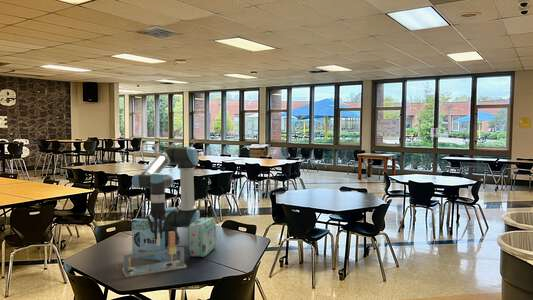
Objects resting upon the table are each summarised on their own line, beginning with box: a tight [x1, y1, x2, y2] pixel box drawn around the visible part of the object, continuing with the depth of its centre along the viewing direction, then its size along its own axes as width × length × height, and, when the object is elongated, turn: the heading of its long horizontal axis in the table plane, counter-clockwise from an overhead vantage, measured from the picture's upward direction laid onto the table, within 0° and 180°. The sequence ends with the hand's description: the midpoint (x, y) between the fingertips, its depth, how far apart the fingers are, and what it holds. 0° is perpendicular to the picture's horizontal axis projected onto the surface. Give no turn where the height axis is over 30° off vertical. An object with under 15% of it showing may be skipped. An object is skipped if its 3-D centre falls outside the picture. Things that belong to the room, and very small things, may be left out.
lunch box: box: [187, 217, 217, 258], centre depth 248 cm, size 27×10×21 cm, turn 168°
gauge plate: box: [121, 259, 188, 278], centre depth 218 cm, size 11×32×2 cm, turn 118°
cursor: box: [166, 231, 177, 264], centre depth 222 cm, size 4×4×18 cm
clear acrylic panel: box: [122, 246, 185, 272], centre depth 218 cm, size 2×32×9 cm, turn 118°
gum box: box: [131, 217, 166, 261], centre depth 237 cm, size 20×5×23 cm, turn 72°
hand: (158, 244), depth 219 cm, fingers closed
